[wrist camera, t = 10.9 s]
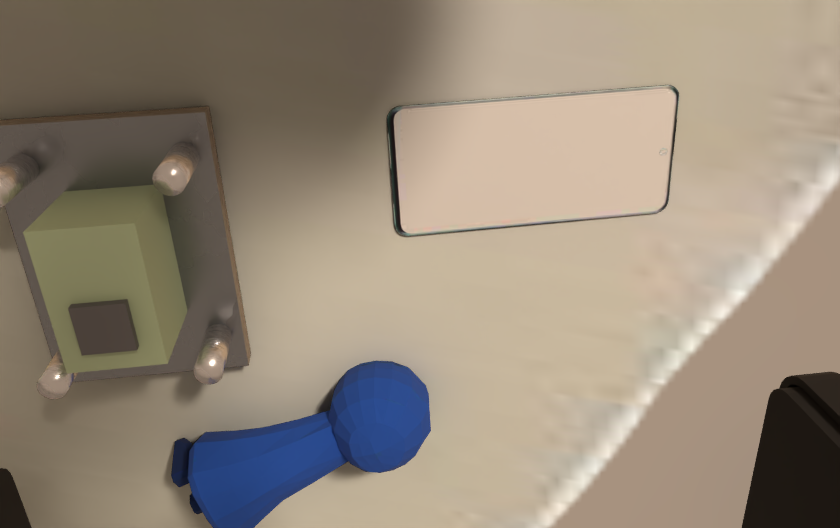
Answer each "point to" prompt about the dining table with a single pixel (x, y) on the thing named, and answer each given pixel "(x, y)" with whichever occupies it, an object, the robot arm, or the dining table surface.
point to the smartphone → (531, 159)
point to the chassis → (186, 210)
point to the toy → (306, 446)
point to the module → (109, 277)
